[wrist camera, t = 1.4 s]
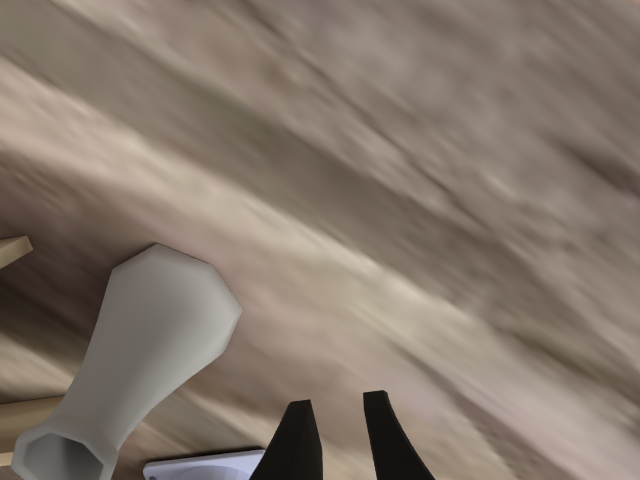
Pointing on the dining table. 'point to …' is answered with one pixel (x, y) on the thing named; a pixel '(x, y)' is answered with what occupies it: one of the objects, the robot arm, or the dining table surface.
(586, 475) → the dining table surface
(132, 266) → the flask
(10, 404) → the lane
